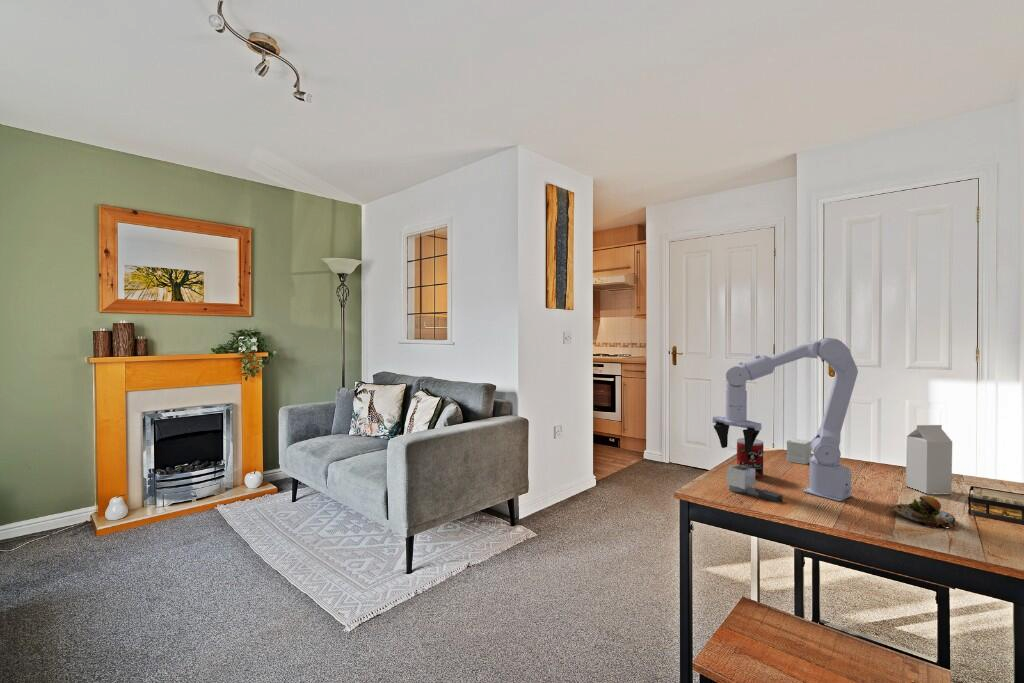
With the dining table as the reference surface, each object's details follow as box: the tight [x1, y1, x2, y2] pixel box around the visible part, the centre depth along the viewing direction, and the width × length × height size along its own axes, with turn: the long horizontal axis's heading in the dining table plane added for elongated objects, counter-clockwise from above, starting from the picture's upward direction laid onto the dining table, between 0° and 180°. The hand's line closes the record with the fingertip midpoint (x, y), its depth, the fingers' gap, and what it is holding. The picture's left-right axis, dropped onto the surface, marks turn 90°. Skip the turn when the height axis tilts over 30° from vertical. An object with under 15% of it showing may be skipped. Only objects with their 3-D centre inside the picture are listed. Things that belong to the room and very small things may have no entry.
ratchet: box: [728, 485, 783, 504], centre depth 135 cm, size 14×6×5 cm, turn 34°
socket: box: [726, 463, 756, 489], centre depth 138 cm, size 5×5×5 cm
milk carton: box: [905, 424, 953, 495], centre depth 137 cm, size 7×7×19 cm
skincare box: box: [786, 438, 812, 465], centre depth 168 cm, size 6×6×7 cm
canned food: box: [736, 437, 764, 479], centre depth 153 cm, size 8×8×11 cm
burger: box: [892, 491, 956, 529], centre depth 117 cm, size 12×12×8 cm
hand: (735, 450), depth 146 cm, fingers open, 7 cm apart
